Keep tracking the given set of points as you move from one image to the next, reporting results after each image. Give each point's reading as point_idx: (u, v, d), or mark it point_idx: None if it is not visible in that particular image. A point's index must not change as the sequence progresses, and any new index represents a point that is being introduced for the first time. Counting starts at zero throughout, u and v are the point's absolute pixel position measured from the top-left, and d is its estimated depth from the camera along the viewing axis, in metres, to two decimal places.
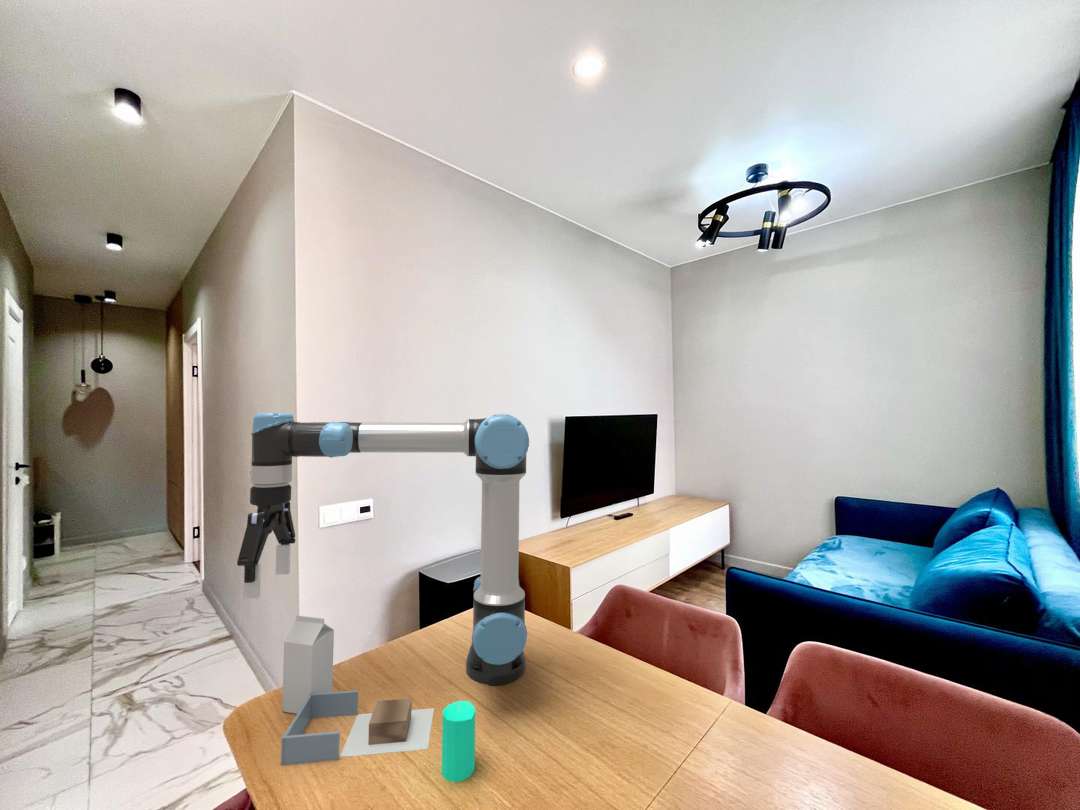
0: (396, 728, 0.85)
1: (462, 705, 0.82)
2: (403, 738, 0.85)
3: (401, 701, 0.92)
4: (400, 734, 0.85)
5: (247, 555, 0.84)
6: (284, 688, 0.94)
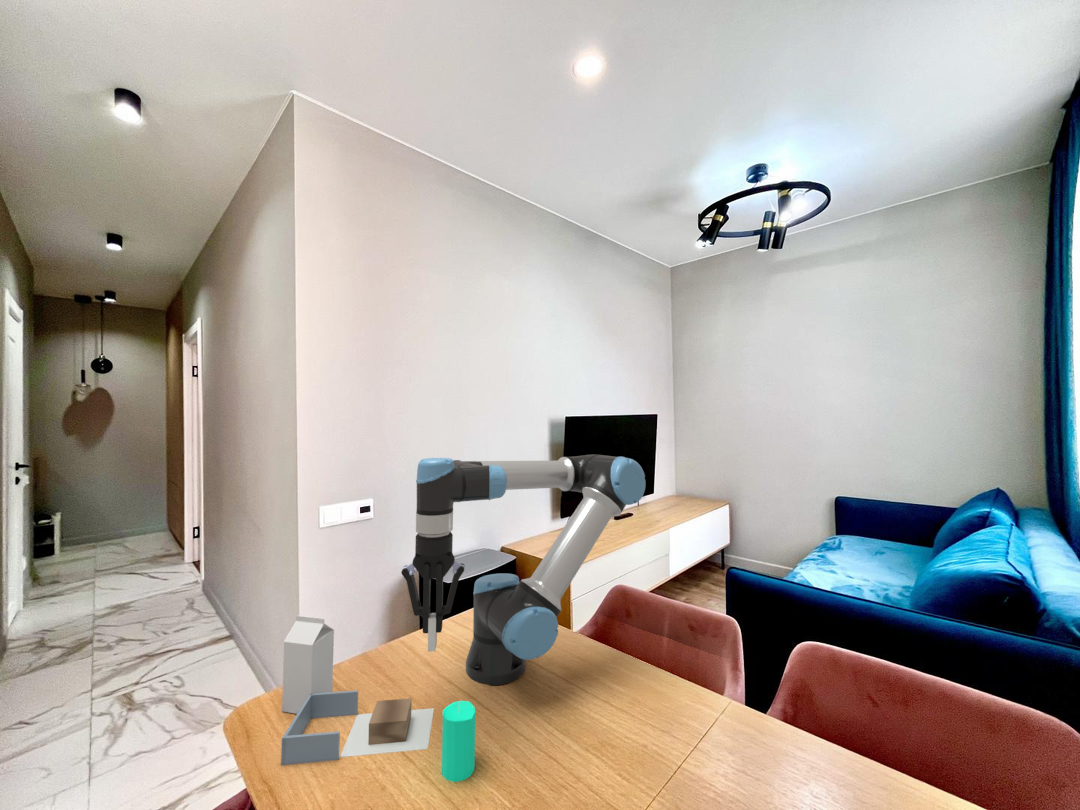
0: (396, 728, 0.85)
1: (462, 705, 0.82)
2: (403, 738, 0.85)
3: (401, 701, 0.92)
4: (400, 734, 0.85)
5: None
6: (284, 688, 0.94)
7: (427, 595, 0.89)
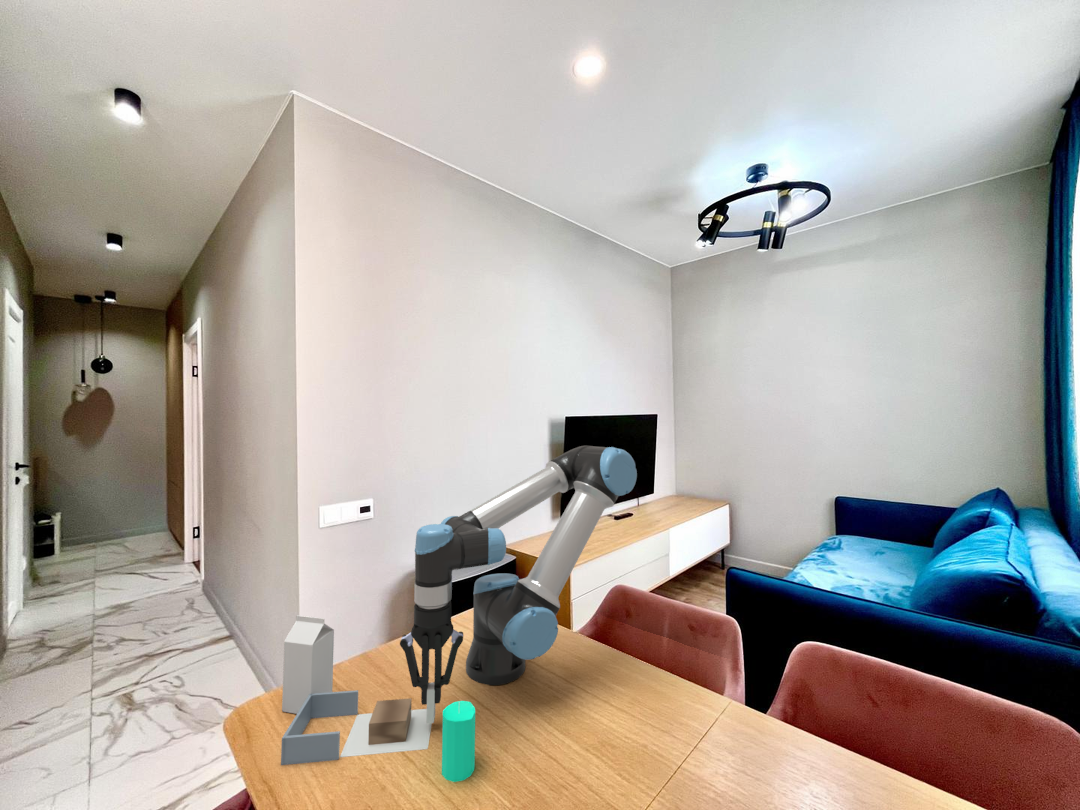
0: (396, 728, 0.85)
1: (462, 705, 0.82)
2: (403, 738, 0.85)
3: (401, 701, 0.92)
4: (400, 734, 0.85)
5: None
6: (284, 688, 0.94)
7: (426, 666, 0.89)
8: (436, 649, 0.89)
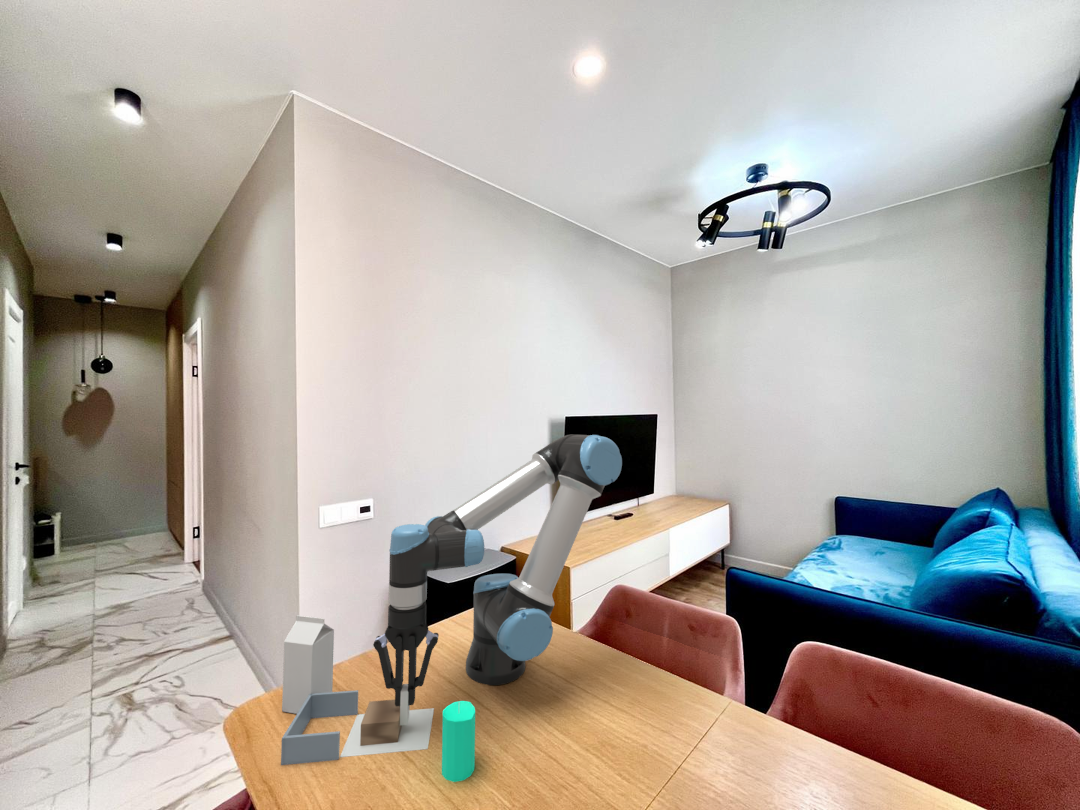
0: (388, 728, 0.85)
1: (462, 705, 0.82)
2: (395, 739, 0.85)
3: (394, 701, 0.91)
4: (392, 735, 0.85)
5: None
6: (284, 688, 0.94)
7: (399, 667, 0.88)
8: (410, 650, 0.88)
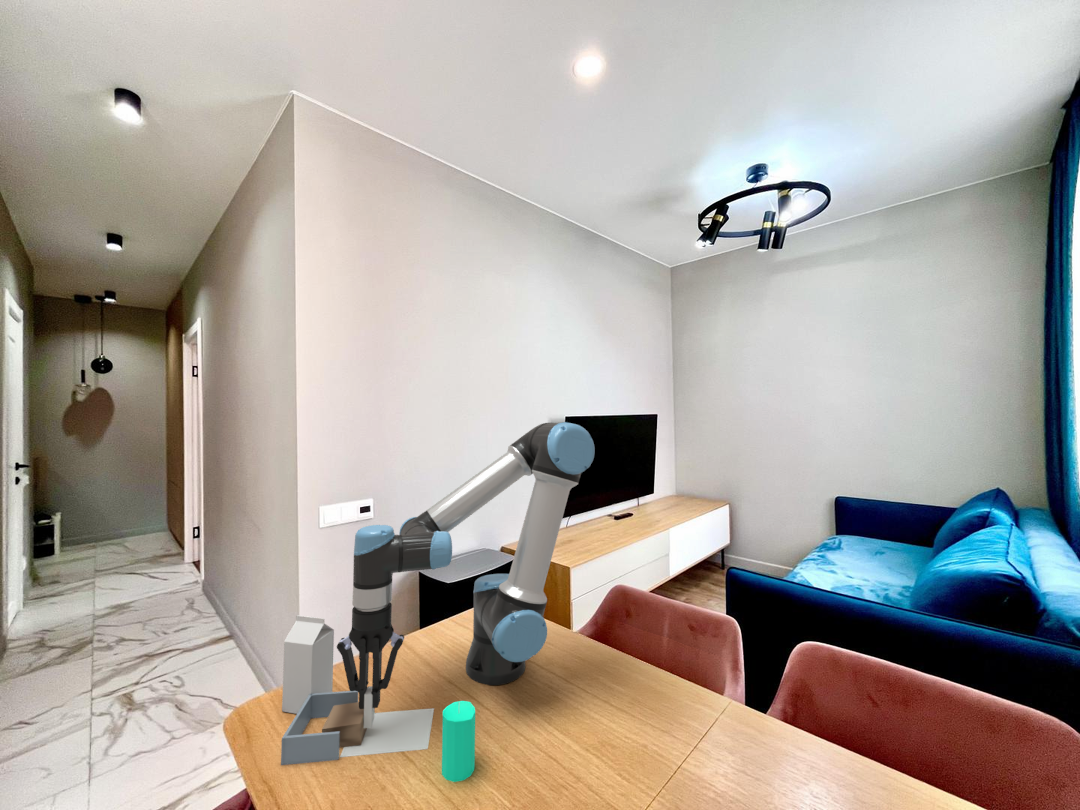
0: (350, 731, 0.84)
1: (462, 705, 0.82)
2: (358, 741, 0.84)
3: (358, 704, 0.90)
4: (355, 737, 0.84)
5: None
6: (284, 688, 0.94)
7: (363, 670, 0.87)
8: (374, 652, 0.87)
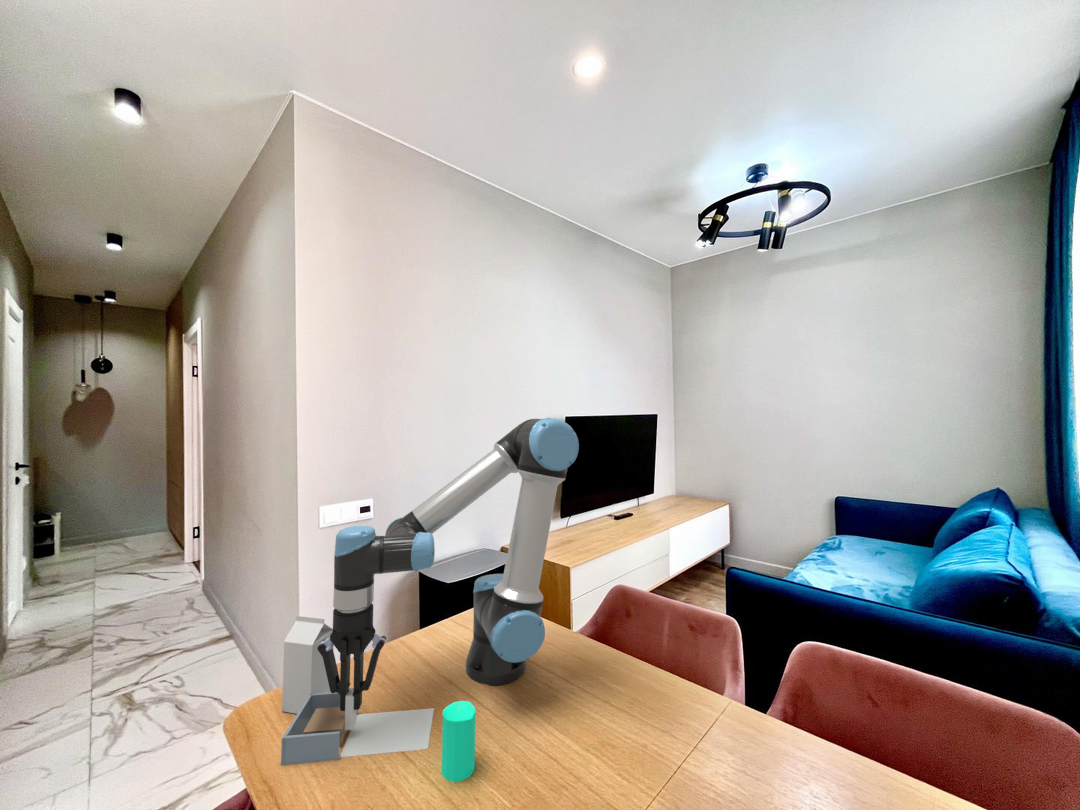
0: None
1: (462, 705, 0.82)
2: None
3: None
4: None
5: None
6: (284, 688, 0.94)
7: (344, 671, 0.87)
8: (355, 654, 0.86)
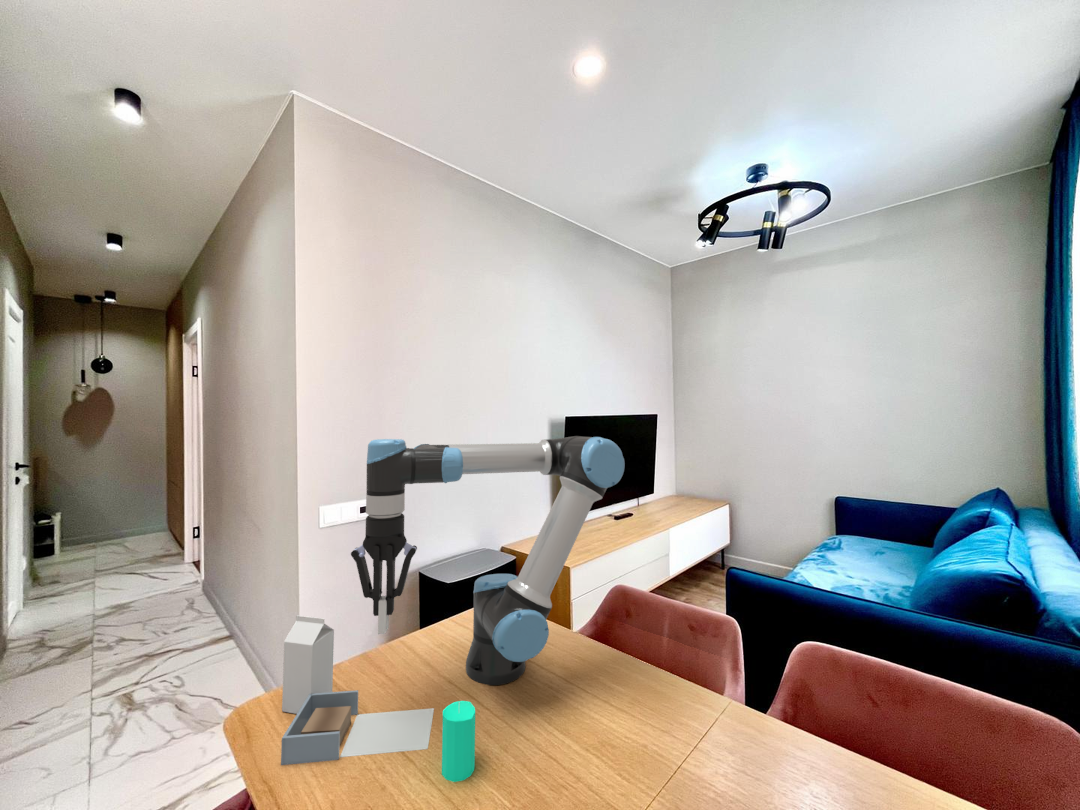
0: None
1: (462, 705, 0.82)
2: None
3: (340, 709, 0.90)
4: None
5: None
6: (284, 688, 0.94)
7: (377, 577, 0.88)
8: (388, 560, 0.88)
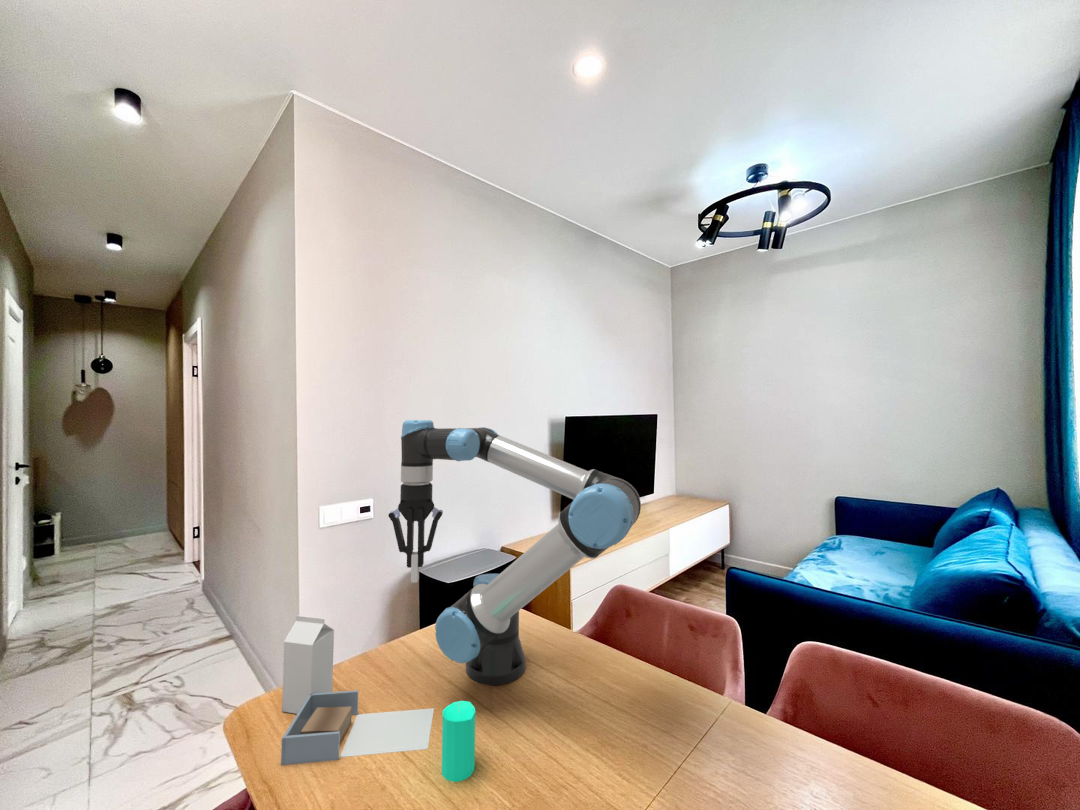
0: None
1: (462, 705, 0.82)
2: None
3: (341, 709, 0.90)
4: None
5: None
6: (284, 688, 0.94)
7: (410, 535, 1.05)
8: (419, 520, 1.05)
